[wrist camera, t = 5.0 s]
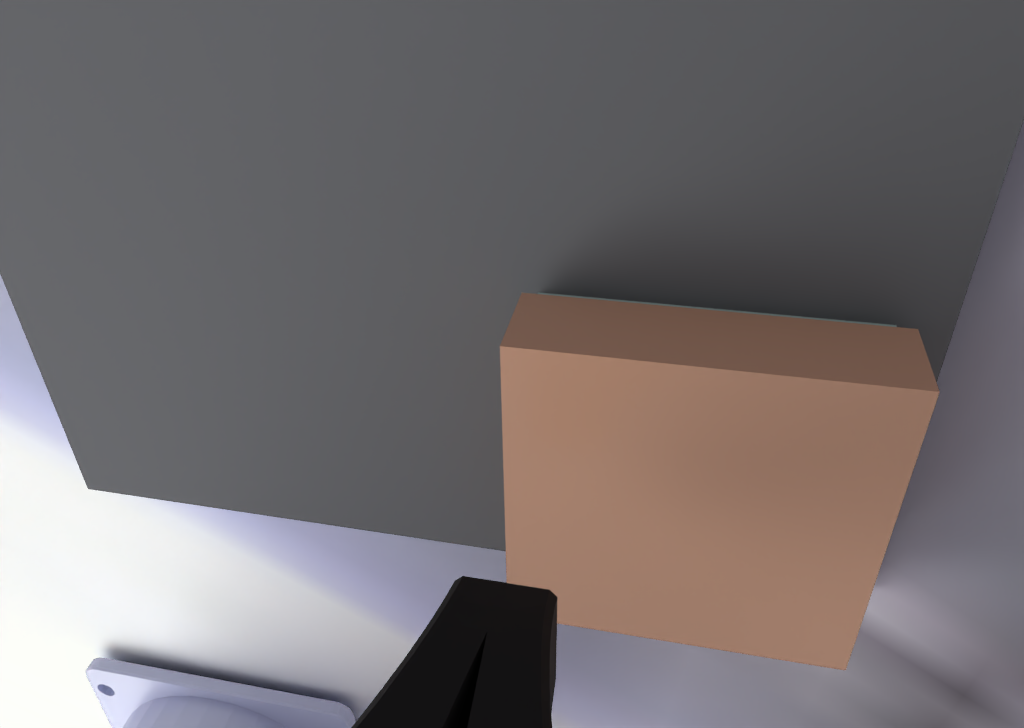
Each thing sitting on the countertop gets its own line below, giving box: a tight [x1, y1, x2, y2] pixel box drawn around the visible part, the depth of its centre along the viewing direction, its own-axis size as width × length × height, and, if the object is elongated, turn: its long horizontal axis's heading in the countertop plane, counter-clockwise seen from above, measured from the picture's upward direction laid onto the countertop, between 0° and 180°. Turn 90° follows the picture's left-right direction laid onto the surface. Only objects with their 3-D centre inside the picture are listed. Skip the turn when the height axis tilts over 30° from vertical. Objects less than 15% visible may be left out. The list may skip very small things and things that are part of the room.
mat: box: [0, 0, 1024, 551], centre depth 15 cm, size 12×17×1 cm
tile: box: [500, 292, 940, 670], centre depth 14 cm, size 6×2×6 cm
